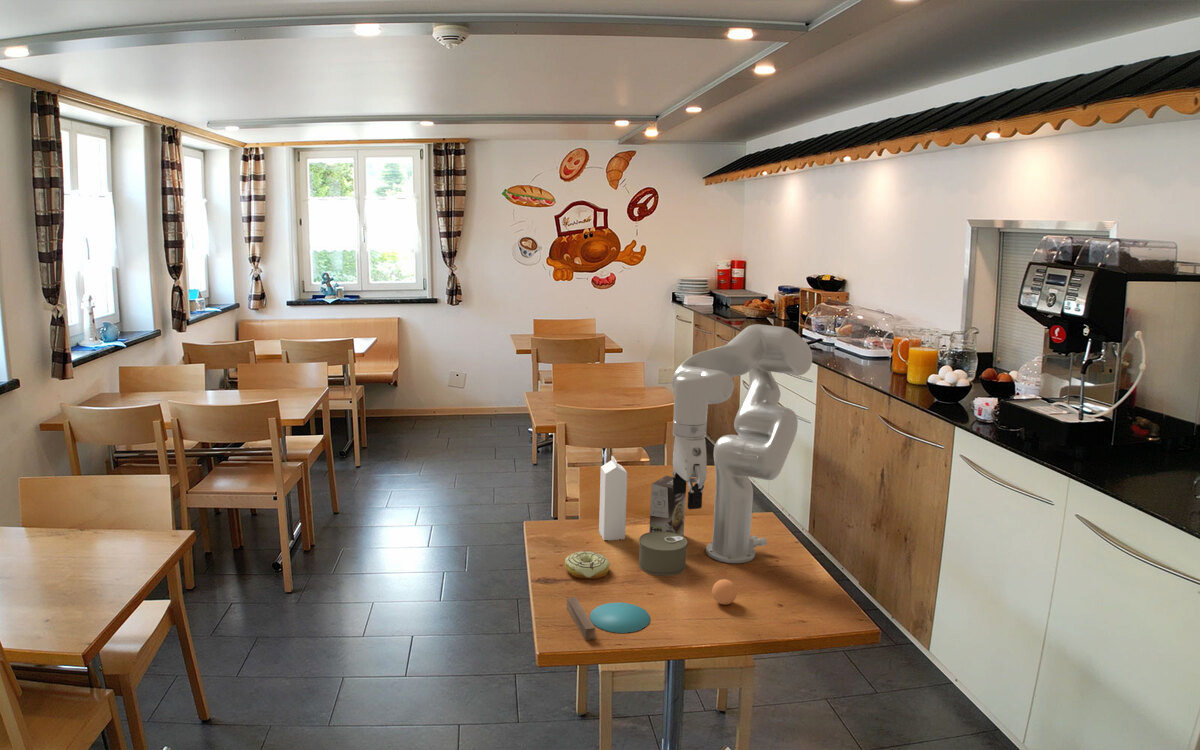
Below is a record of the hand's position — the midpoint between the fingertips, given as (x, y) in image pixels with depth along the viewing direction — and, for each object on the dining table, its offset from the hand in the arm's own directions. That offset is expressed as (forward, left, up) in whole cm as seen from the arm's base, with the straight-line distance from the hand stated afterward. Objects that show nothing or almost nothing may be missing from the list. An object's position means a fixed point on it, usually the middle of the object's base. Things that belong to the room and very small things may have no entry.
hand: (686, 500), depth 185 cm
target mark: (+19, +9, -22) cm, 30 cm away
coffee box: (-8, -29, -22) cm, 37 cm away
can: (0, -13, -22) cm, 25 cm away
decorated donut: (+19, -15, -22) cm, 33 cm away
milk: (+6, -34, -22) cm, 41 cm away
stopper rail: (+28, +9, -22) cm, 37 cm away
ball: (-6, +9, -19) cm, 22 cm away
